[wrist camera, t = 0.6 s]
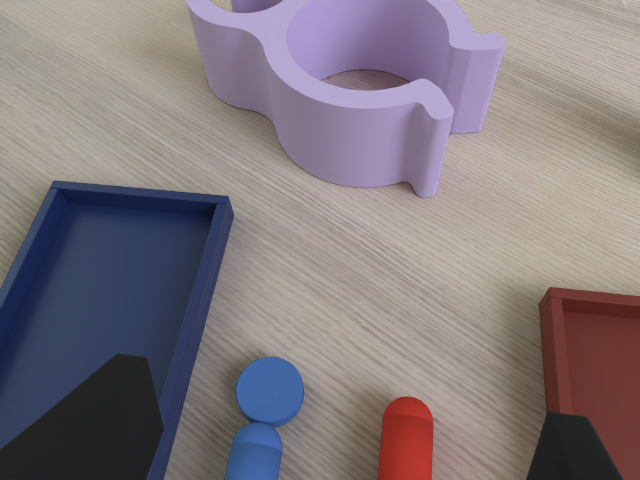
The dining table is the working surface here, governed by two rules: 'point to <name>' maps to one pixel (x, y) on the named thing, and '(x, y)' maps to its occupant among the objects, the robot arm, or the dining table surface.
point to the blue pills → (263, 417)
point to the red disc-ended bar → (406, 441)
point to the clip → (345, 104)
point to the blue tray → (108, 296)
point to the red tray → (595, 366)
